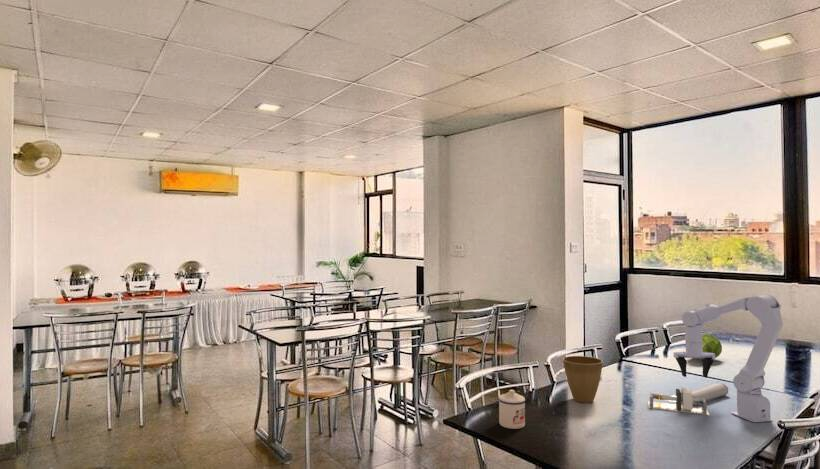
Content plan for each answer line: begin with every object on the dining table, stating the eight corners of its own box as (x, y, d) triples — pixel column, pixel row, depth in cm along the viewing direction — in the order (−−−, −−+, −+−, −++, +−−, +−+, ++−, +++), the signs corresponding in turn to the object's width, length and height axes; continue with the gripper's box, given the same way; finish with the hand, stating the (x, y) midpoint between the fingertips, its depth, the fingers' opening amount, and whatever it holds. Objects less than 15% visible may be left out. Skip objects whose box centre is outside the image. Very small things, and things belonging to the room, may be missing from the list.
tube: (698, 398, 180) (730, 386, 194) (684, 390, 185) (717, 379, 198) (693, 410, 182) (726, 398, 195) (680, 402, 186) (712, 391, 199)
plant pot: (609, 399, 190) (608, 359, 191) (594, 408, 179) (593, 366, 180) (573, 391, 200) (572, 353, 201) (556, 400, 190) (556, 359, 190)
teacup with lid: (516, 431, 158) (516, 396, 158) (493, 424, 164) (493, 390, 164) (535, 422, 166) (534, 388, 166) (512, 415, 172) (512, 383, 173)
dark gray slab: (679, 404, 182) (679, 389, 182) (681, 409, 177) (681, 393, 177) (676, 404, 183) (675, 388, 183) (677, 409, 177) (677, 393, 177)
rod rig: (705, 408, 180) (705, 395, 180) (709, 415, 172) (709, 402, 172) (647, 401, 188) (647, 389, 188) (648, 408, 180) (648, 395, 180)
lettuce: (677, 361, 252) (676, 336, 253) (696, 355, 267) (695, 331, 267) (706, 366, 241) (706, 340, 241) (724, 360, 255) (724, 335, 256)
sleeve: (690, 405, 181) (690, 388, 181) (692, 410, 175) (692, 393, 176) (681, 404, 182) (681, 388, 182) (683, 409, 177) (683, 392, 177)
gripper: (708, 340, 191) (709, 374, 190) (670, 339, 193) (670, 373, 192) (717, 343, 184) (718, 379, 183) (677, 342, 186) (678, 378, 185)
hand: (694, 376), depth 187 cm, fingers open, 7 cm apart
